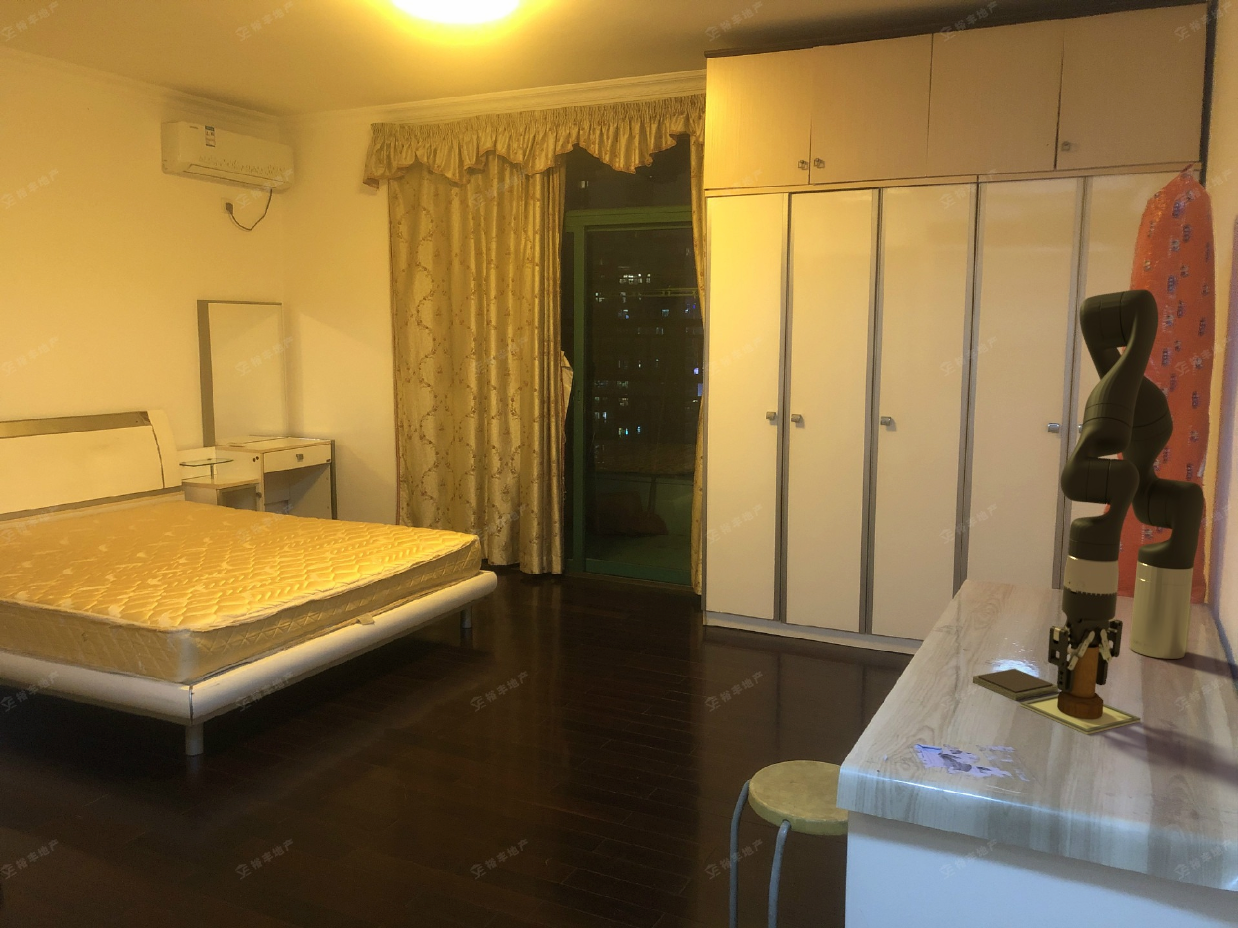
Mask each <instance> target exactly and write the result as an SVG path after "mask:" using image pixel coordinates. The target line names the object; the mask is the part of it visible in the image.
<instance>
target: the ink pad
mask: <svg viewBox="0 0 1238 928" xmlns="http://www.w3.org/2000/svg"><path fill="white" fill-rule="evenodd" d="M972 683H974V684H977V685H979V686H981V687H984V688H985V689H988V690H990V691H992V692H994V693H997V694H1000V695H1002V696H1005V697H1006V698H1008V699H1011V700H1014V701H1020V700H1025V699H1030V698H1033V697H1038V696H1043V695H1047V694H1048V695H1049V694H1052V693H1059V689H1058V686H1057V684H1055V683H1052V682H1049V681H1047V680H1044V679H1042V678H1039V677H1038V676H1037V677H1036V676H1034V675H1032V674H1029V673H1027V672H1024V671H1021V670H1019V669H1016V668H1010V669H1005V670H999V671H995V672H990V673H984V674H980V675H973V676H972Z"/></svg>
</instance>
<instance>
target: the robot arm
mask: <svg viewBox="0 0 1238 928" xmlns="http://www.w3.org/2000/svg"><path fill="white" fill-rule="evenodd" d="M1154 296H1155V295H1153V294H1152V291H1149V290H1148V289H1144V288H1143V289H1142V288H1140V289H1130V290H1124V291H1116V292H1110V293H1103V294H1097V295H1094V296H1093V295H1092V296H1089V297H1087V298H1085V299H1084V300H1083V301H1082V303H1081V305H1080V307H1079V315H1078V316H1079V325H1080V330H1081V334H1082V337H1083V340H1084V341H1085V346H1086V348H1087V350H1088V352H1089V356H1090V358H1091V360H1092V362H1093V365H1094V367H1095V370H1096V373H1097V374H1098V377H1099V381H1098V383H1097V384H1096V385H1095V386H1094V387H1093V389H1092V390H1091V392H1090V394H1089V396H1088V398H1087V400H1086V402H1085V407H1084V411H1083V419H1082V426H1081V431H1080V435H1079V439H1078V440H1077V443H1076V445H1075V447H1074V449H1073V451H1072V452H1071V454H1070V456H1069V458H1068V460H1067V461H1066V462H1065V465H1064V467H1063V470H1062V472H1061V475H1060V489H1061V491H1062V493H1063V495H1064V496H1065V497H1066V498H1067V499H1068V500H1070V501H1073V502H1079V503H1088V504H1089V503H1091V504H1099V505H1109V508H1108V510H1107V511H1106V512H1105V513H1103V514H1100V515H1095V516H1093V515H1092V516H1083V517H1078V518H1075V519H1073V521H1071V524H1070V526H1069V535H1068V537H1069V539H1068V547H1067V548H1068V551H1067V558H1066V563H1065V567H1064V576H1063V586H1062V599H1061V611H1062V612H1063V614H1065V616H1066V619H1065V623H1064V625H1063V626H1061V627H1060V626H1059V627H1058V626H1054V625H1051V626H1050V628H1049V634H1048V635H1049V639H1048V652H1047V653H1048V654H1047V662H1048V663H1049V664H1052V665H1054V666H1057V679H1056V685H1057V686H1058V691H1059V690H1060V691H1064V692H1066V693H1069V692H1072V691H1073V681H1074V670H1073V668H1074V666H1075V664H1076V662H1077V660H1078V659H1079V658H1082V657H1083V655H1084V653H1085V651H1086V649H1087V647H1088V648H1095V647H1096V646H1097V645H1098V644H1099V655H1098V665H1097V676H1096V685H1098V686H1105V685H1106V683H1107V679H1108V671H1109V663H1111V661H1112V658H1118V657H1119V655H1120V653H1121V652H1120V651H1121V642H1122V636H1123V635H1122V634H1123V624H1124V623H1123V621H1122V620H1121V619H1116V618H1115V617H1116V611H1117V610H1116V609H1117V600H1118V599H1117V598H1118V588H1119V575H1120V573H1119V570H1120V569H1119V568H1120V567H1119V558H1120V557H1119V555H1120V548H1121V547H1120V546H1121V545H1120V544H1121V537H1122V531H1123V526H1124V523H1125V519H1126V517H1127V514H1128V512H1129V509H1130V506H1131V507H1132V511H1133V515H1134V516H1135V518H1136V519H1137V520H1138V522H1139V523H1141V524H1144V525H1147V526H1148V527H1149V526H1151V527H1156V528H1162V529H1167V530H1168V529H1169V530H1171V533H1170V537H1169V538H1168V539H1167V540H1164V541H1162V542H1155V543H1154V542H1153V543H1152V542H1151V543H1147V544H1144V545H1141V546H1140V547H1139V549H1138V551H1137V561H1136V562H1137V563H1136V569H1135V570H1136V573H1135V584H1134V592H1133V593H1134V595H1133V604H1132V614H1131V615H1132V616H1131V617H1132V618H1131V625H1130V638H1129V648H1130V650H1131V651H1132V652H1135V653H1137V654H1140V655H1144V656H1148V657H1151V658H1157V659H1165V660H1166V659H1167V660H1169V659H1171V660H1175V659H1182V658H1184V657H1185V655H1186V654H1187V653H1188V645H1189V636H1190V627H1191V626H1190V625H1191V617H1192V616H1191V615H1192V605H1191V594H1192V585H1193V573H1194V566H1195V565H1194V564H1195V558H1196V554H1197V549H1198V544H1199V536H1200V529H1201V525H1202V524H1201V523H1202V517H1203V513H1204V501H1205V497H1204V492H1203V489H1202V487H1201V485H1200V484H1198V483H1195V482H1192V481H1185V480H1179V479H1178V480H1177V479H1171V478H1170V479H1169V478H1160V477H1159V476H1157V474H1156V472H1155V471H1156V470H1155V467H1154V464H1155V462H1156V460H1157V458H1158V457H1159V455H1160V454H1161V453H1162V451H1164V449H1165V447H1166V445H1167V444H1168V443H1169V441H1170V439H1171V437H1172V435H1173V431H1174V423H1173V419H1172V415H1171V411H1170V406H1169V403H1168V399H1167V397H1166V395H1165V394H1164V392H1163V390H1162V389H1161V388H1160V387H1159V386H1158V385H1157V384H1156V383H1155V382H1153V381H1152V380H1151V379H1150V378H1148V377H1147V376H1146V375H1145V372H1146V370H1147V366H1148V364H1149V361H1150V358H1151V354H1152V351H1153V348H1154V344H1155V341H1156V338H1157V332H1158V327H1159V311H1158V305H1157V302H1156V298H1155V297H1154ZM1119 348H1124V350H1123V352H1122V354H1121V353H1120V351H1119ZM1118 454H1121V455H1122V456H1121V457H1122V459H1121V458H1108V456H1115V455H1118ZM1106 457H1107V458H1106ZM1110 642H1112V647H1111V644H1110ZM1071 646H1072V647H1074V648H1076V649H1075V650H1074V649H1071ZM1057 652H1058V656H1057ZM1068 655H1069V659H1068ZM1070 655H1071V657H1070Z"/></svg>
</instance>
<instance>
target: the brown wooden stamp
mask: <svg viewBox="0 0 1238 928" xmlns="http://www.w3.org/2000/svg"><path fill="white" fill-rule="evenodd" d="M1070 648H1071V649H1074V650H1075V649H1076V648H1074V647H1072V646H1071V645H1070ZM1098 655H1099V644H1098V645H1097V646H1096V647H1095V648H1088V647H1087V649H1086V651H1085V653H1084V655H1083V657H1082V658H1079V659H1078V660H1077V662H1076V664H1075V666H1074V668H1073V670H1074V681H1073V691H1072V692H1069V693H1066V692H1064V691H1061V690H1060V691H1058V693H1057V694H1058V702H1057V707H1058V709H1059V710H1060V711H1061V712H1063V713H1065V714H1067V715H1070V716H1073V717H1078V718H1084V719H1097V718H1100V717H1101V716H1102V714H1103V704H1104V699H1103V698H1102V697H1100V695H1099V694H1098V693H1097V692H1096V687H1097V684H1096V676H1097V665H1098ZM1070 657H1071V655H1070V654H1069V658H1070Z"/></svg>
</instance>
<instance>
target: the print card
mask: <svg viewBox="0 0 1238 928" xmlns="http://www.w3.org/2000/svg"><path fill="white" fill-rule="evenodd" d="M1058 694H1059V693H1057V694H1053V695H1048V696H1044V697H1040V698H1034V699H1031V700H1030V699H1029V700H1026V701H1021V702H1020V703H1019V705H1020V706H1021V707H1023V708H1025V709H1027V710H1030V711H1031V712H1034V713H1036V714H1038V715H1041V716H1043V717H1046V718H1048V719H1051V720H1053V721H1055V722H1058V723H1059V724H1061V725H1064V726H1067V727H1068V728H1071V729H1073V730H1076V731H1079V732H1081V733H1083V734H1085V735H1092V734H1094V733H1099V732H1102V731H1108V730H1110V729H1111V730H1112V729H1115V728H1119V727H1123V726H1127V725H1131V724H1135V723H1141V719H1142V718H1141V717H1140V716H1136V715H1133V714H1131V713H1128V712H1127V711H1123V710H1121V709H1119V708H1116V707H1113V706H1110V704H1109V705H1108V704H1106V703H1103V714H1102V716H1101V717H1100V718H1097V719H1084V718H1078V717H1073V716H1070V715H1067V714H1065V713H1063V712H1061V711H1060V710H1059V709H1058V707H1057V702H1058Z"/></svg>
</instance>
